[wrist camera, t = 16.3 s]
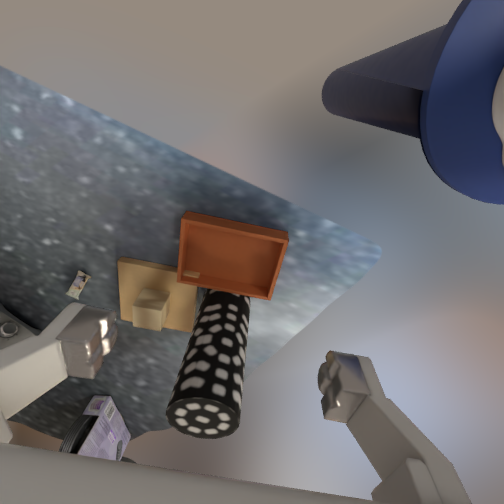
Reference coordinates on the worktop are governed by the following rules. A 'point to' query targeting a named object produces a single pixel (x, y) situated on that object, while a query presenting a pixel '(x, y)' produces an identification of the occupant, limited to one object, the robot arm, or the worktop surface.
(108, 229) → the worktop surface
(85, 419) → the cake pan box
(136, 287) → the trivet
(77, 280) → the granola bar
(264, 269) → the orange-brown tray
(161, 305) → the block
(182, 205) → the worktop surface
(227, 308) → the white-spotted black cylinder
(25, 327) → the toaster
